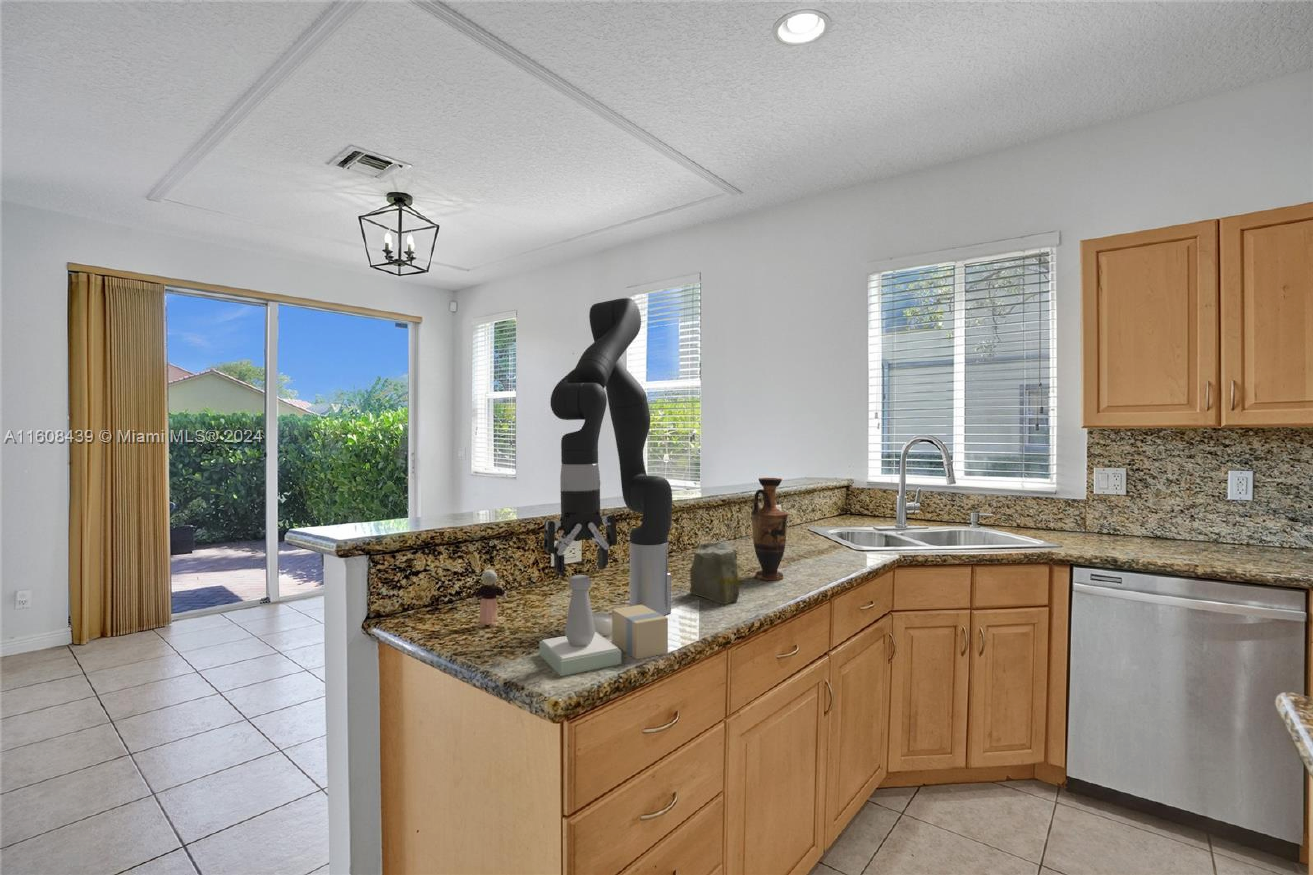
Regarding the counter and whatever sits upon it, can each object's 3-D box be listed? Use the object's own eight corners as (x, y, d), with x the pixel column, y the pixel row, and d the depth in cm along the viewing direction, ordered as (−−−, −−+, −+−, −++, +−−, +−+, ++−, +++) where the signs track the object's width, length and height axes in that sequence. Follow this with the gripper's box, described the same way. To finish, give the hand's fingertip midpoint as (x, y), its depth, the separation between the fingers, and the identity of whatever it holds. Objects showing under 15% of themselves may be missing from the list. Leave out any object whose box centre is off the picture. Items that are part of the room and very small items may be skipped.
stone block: (725, 606, 154) (725, 546, 154) (687, 593, 166) (687, 538, 166) (754, 599, 160) (754, 542, 160) (716, 587, 172) (716, 534, 172)
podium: (595, 644, 126) (595, 630, 126) (621, 663, 115) (621, 648, 115) (539, 654, 120) (539, 639, 120) (560, 676, 109) (560, 659, 109)
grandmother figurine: (473, 630, 135) (472, 572, 135) (471, 625, 138) (471, 569, 138) (508, 626, 138) (508, 570, 138) (506, 621, 141) (506, 566, 141)
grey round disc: (579, 629, 134) (580, 615, 134) (602, 625, 138) (603, 611, 138) (597, 637, 129) (598, 623, 129) (620, 633, 134) (621, 619, 134)
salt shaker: (597, 647, 116) (597, 578, 116) (567, 650, 114) (567, 580, 114) (591, 637, 121) (591, 572, 121) (563, 640, 120) (562, 573, 120)
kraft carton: (642, 637, 130) (642, 604, 130) (668, 653, 121) (668, 617, 121) (612, 643, 127) (611, 609, 127) (636, 660, 117) (636, 623, 117)
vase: (788, 574, 188) (788, 477, 188) (787, 582, 177) (787, 479, 177) (752, 572, 190) (752, 476, 190) (749, 580, 180) (749, 479, 180)
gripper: (605, 483, 124) (606, 562, 124) (538, 487, 117) (539, 572, 117) (622, 486, 117) (623, 570, 118) (551, 491, 110) (553, 580, 111)
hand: (581, 571), depth 117 cm, fingers open, 8 cm apart
